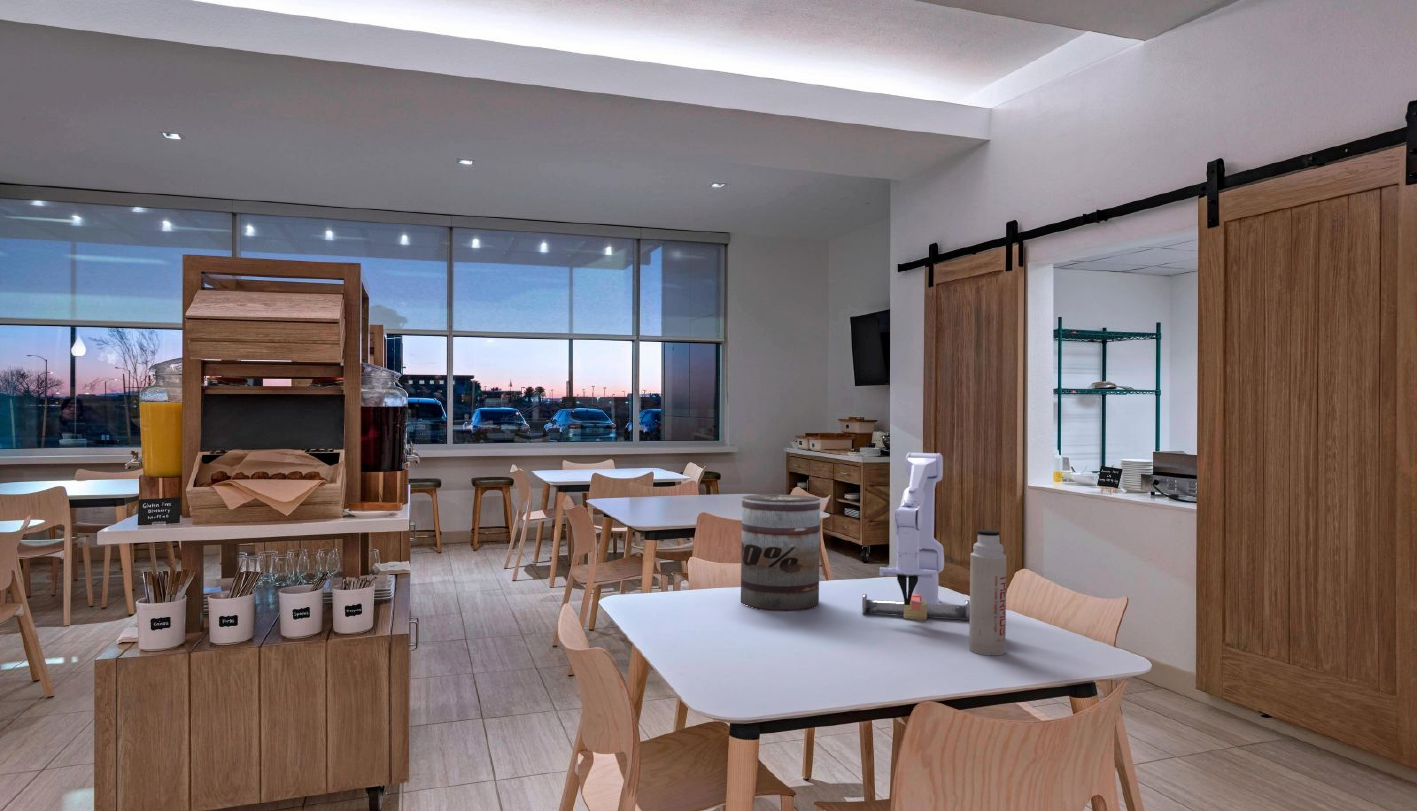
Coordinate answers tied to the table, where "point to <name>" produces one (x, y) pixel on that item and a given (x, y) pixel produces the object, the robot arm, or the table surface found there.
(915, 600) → the lever
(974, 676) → the table surface
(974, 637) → the thermos bottle
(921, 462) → the robot arm
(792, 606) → the barrel
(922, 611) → the pipe and valve
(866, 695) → the table surface
